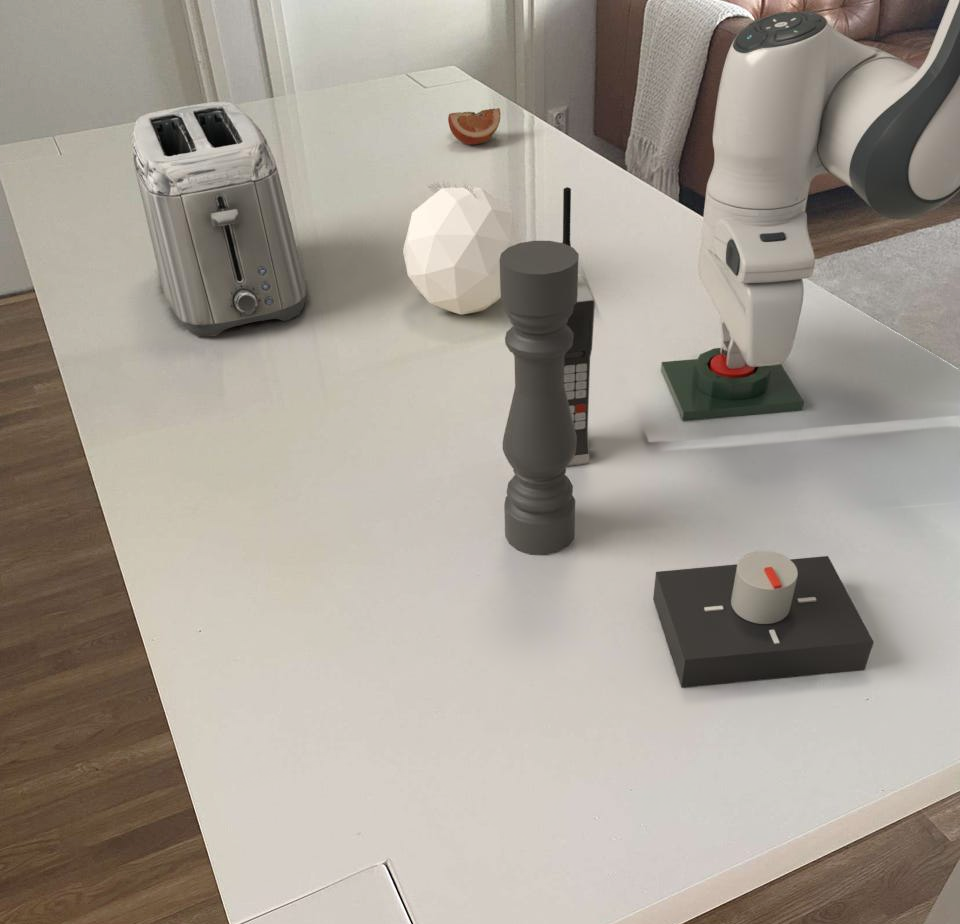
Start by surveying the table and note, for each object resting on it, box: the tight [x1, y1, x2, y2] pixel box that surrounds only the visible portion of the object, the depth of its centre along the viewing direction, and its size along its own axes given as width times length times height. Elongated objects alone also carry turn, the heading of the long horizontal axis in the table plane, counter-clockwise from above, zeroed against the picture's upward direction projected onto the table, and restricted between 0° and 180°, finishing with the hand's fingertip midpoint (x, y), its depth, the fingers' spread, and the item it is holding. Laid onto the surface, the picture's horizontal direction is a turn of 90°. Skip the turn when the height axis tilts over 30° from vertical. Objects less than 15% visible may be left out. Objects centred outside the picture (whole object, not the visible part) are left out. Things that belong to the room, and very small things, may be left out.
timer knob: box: [731, 550, 798, 624], centre depth 76 cm, size 4×4×4 cm
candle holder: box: [500, 240, 580, 556], centre depth 81 cm, size 6×6×25 cm
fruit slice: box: [447, 107, 501, 145], centre depth 160 cm, size 8×7×5 cm
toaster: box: [131, 101, 307, 338], centre depth 121 cm, size 17×30×19 cm, turn 19°
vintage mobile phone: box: [562, 186, 596, 467], centre depth 89 cm, size 4×5×25 cm
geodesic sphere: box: [402, 180, 523, 316], centre depth 117 cm, size 15×14×14 cm
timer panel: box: [652, 555, 874, 689], centre depth 78 cm, size 14×10×3 cm
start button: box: [710, 354, 755, 378], centre depth 101 cm, size 4×4×2 cm
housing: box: [660, 347, 805, 422], centre depth 102 cm, size 12×10×4 cm
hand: (732, 361), depth 101 cm, fingers closed, pressing on start button
